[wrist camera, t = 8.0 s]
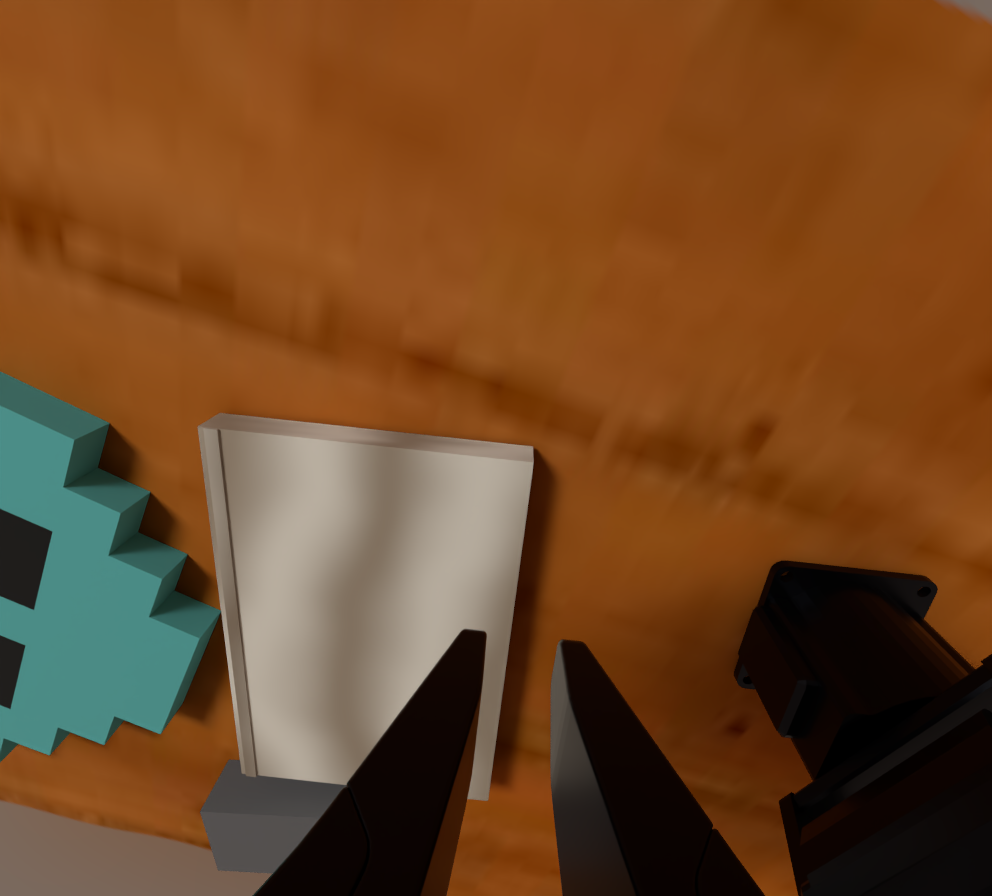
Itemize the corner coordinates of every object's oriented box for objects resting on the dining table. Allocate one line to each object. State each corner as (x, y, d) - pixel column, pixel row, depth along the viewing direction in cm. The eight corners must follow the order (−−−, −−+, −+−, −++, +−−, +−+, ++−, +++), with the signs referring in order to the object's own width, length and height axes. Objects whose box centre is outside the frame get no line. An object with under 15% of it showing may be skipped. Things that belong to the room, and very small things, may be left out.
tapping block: (380, 761, 28) (364, 820, 25) (386, 818, 30) (372, 879, 27) (231, 754, 28) (200, 811, 26) (246, 811, 30) (218, 870, 27)
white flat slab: (533, 446, 20) (533, 463, 19) (489, 771, 27) (487, 803, 26) (219, 412, 20) (196, 427, 19) (255, 745, 27) (240, 775, 26)
